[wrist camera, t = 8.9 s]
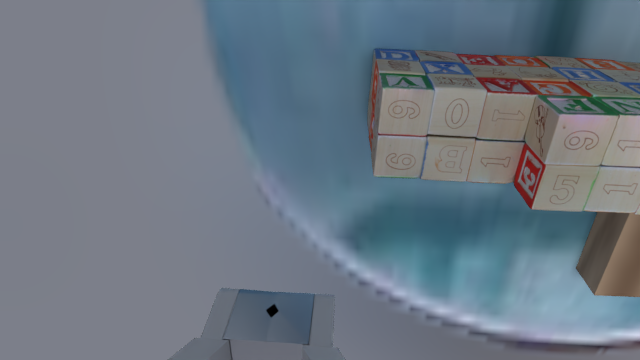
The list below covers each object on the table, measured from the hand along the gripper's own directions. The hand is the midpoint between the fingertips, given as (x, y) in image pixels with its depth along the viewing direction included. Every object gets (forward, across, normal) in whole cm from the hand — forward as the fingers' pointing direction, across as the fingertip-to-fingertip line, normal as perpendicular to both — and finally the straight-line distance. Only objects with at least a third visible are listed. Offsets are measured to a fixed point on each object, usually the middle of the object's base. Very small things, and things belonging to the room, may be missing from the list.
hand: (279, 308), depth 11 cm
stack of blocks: (+26, -14, +3) cm, 30 cm away
